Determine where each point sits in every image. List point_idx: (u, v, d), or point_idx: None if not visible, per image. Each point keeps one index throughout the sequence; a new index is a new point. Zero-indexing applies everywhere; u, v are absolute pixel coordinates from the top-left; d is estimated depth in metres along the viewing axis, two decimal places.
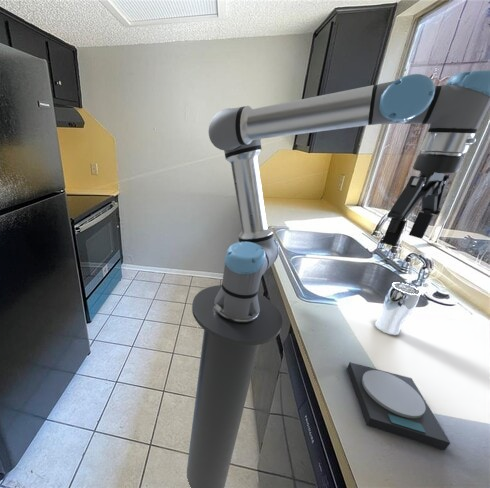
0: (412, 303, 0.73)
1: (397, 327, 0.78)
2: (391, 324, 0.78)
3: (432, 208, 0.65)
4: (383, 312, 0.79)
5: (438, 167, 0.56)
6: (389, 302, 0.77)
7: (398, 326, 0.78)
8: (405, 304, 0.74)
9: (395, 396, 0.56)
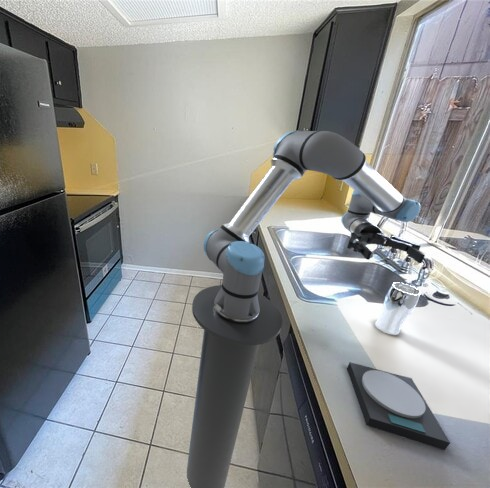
0: (412, 303, 0.73)
1: (397, 327, 0.78)
2: (391, 324, 0.78)
3: None
4: (383, 312, 0.79)
5: None
6: (389, 302, 0.77)
7: (398, 326, 0.78)
8: (405, 304, 0.74)
9: (395, 396, 0.56)
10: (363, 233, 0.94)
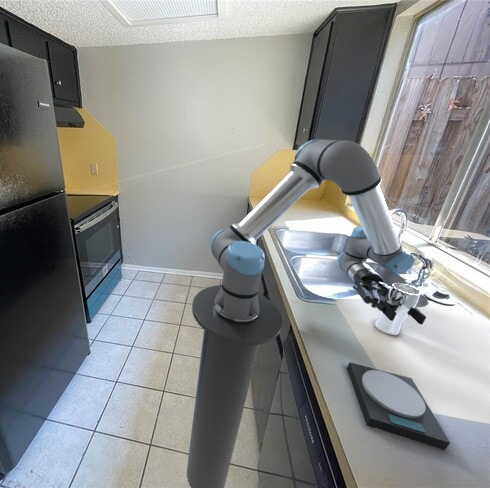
0: (412, 303, 0.73)
1: (397, 327, 0.78)
2: (391, 324, 0.78)
3: None
4: None
5: None
6: (389, 302, 0.77)
7: (398, 326, 0.78)
8: (405, 304, 0.74)
9: (395, 396, 0.56)
10: (365, 281, 0.90)
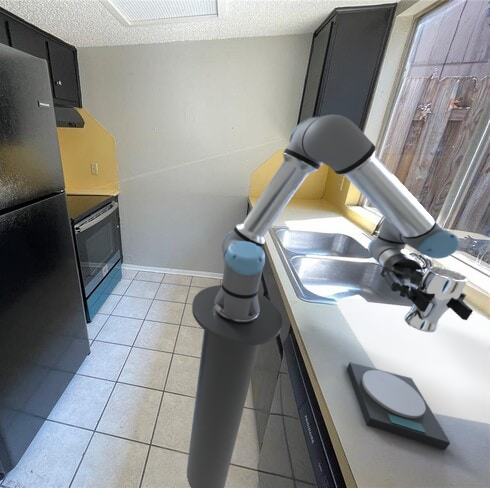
0: (453, 291, 0.57)
1: (432, 322, 0.62)
2: (424, 318, 0.62)
3: None
4: None
5: None
6: (422, 289, 0.61)
7: (433, 321, 0.62)
8: (444, 292, 0.58)
9: (395, 396, 0.56)
10: (397, 267, 0.74)
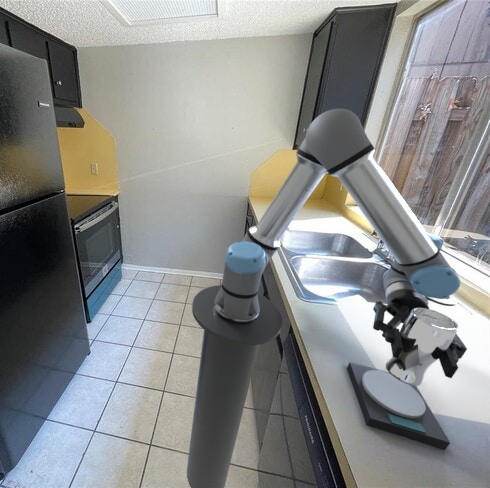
0: (435, 340, 0.48)
1: (413, 374, 0.52)
2: (404, 367, 0.53)
3: None
4: None
5: None
6: (402, 332, 0.52)
7: (415, 373, 0.52)
8: (424, 339, 0.49)
9: (395, 396, 0.56)
10: (396, 304, 0.63)
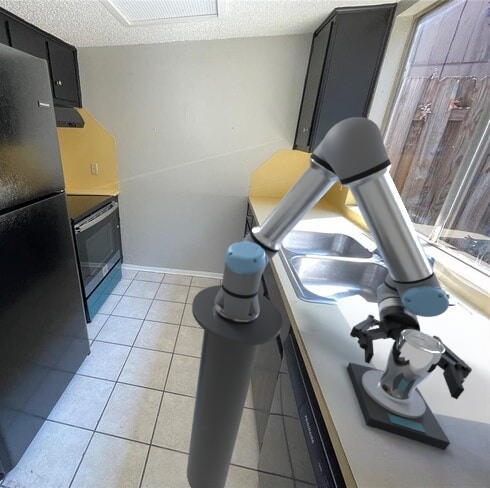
0: (423, 362, 0.50)
1: (402, 392, 0.54)
2: (394, 386, 0.55)
3: None
4: (386, 366, 0.57)
5: None
6: (392, 353, 0.54)
7: (404, 392, 0.54)
8: (412, 361, 0.51)
9: None
10: (388, 320, 0.65)
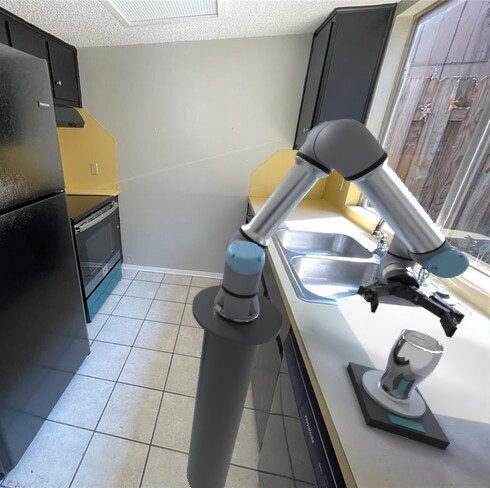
0: (423, 362, 0.50)
1: (402, 392, 0.54)
2: (394, 386, 0.55)
3: None
4: (386, 366, 0.57)
5: None
6: (392, 353, 0.54)
7: (404, 392, 0.54)
8: (412, 361, 0.51)
9: None
10: (391, 281, 0.73)
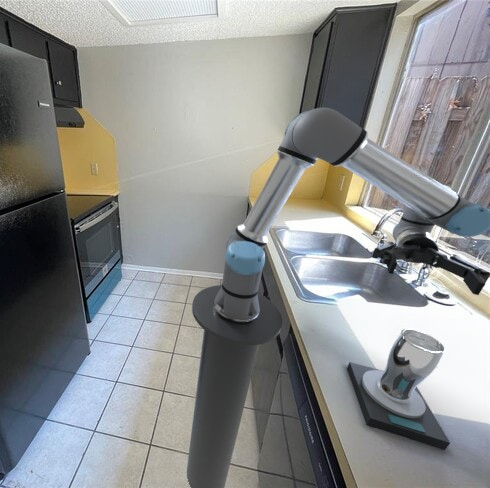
0: (423, 362, 0.50)
1: (402, 392, 0.54)
2: (394, 386, 0.55)
3: None
4: (386, 366, 0.57)
5: None
6: (392, 353, 0.54)
7: (404, 392, 0.54)
8: (412, 361, 0.51)
9: None
10: (407, 245, 0.68)
